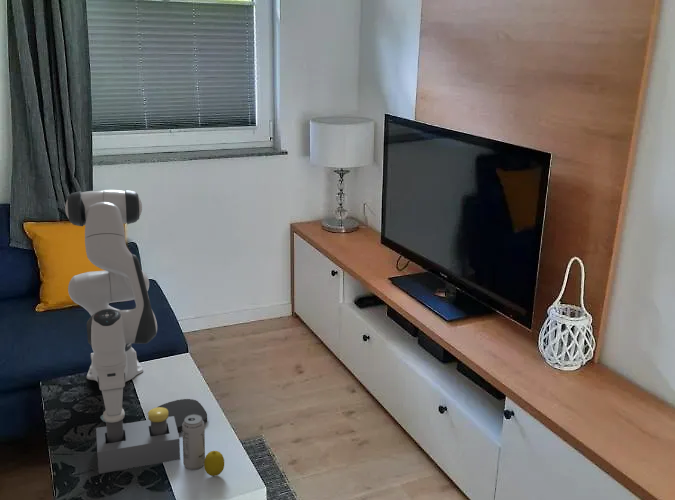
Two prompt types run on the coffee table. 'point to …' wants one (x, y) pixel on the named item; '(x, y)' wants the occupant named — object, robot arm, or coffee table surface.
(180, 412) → the media streaming box
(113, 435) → the knob white
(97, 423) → the coffee table surface
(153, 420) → the knob mustard
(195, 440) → the energy drink can
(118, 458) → the mount
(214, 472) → the lemon
